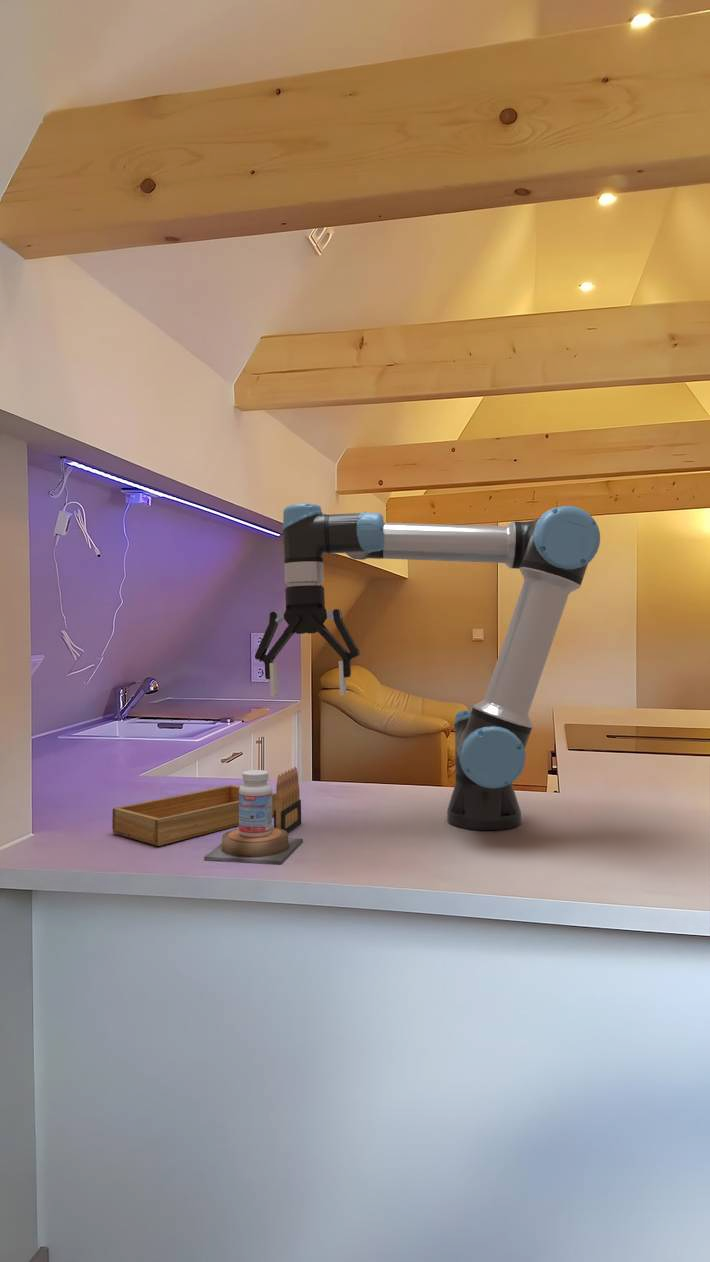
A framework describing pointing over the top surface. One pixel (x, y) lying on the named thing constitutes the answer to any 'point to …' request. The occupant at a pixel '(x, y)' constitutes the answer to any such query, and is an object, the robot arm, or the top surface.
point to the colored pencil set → (287, 801)
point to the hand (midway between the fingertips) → (308, 695)
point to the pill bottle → (255, 804)
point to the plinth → (255, 847)
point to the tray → (180, 816)
